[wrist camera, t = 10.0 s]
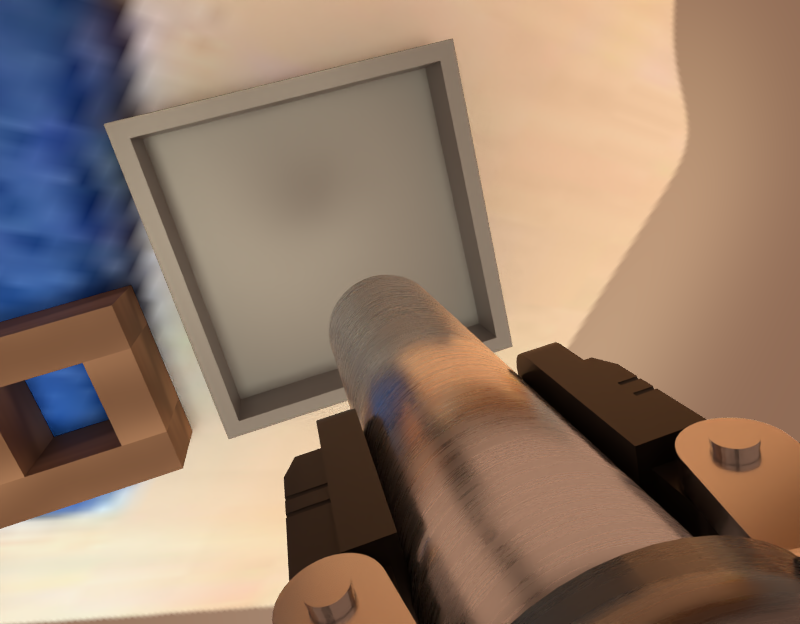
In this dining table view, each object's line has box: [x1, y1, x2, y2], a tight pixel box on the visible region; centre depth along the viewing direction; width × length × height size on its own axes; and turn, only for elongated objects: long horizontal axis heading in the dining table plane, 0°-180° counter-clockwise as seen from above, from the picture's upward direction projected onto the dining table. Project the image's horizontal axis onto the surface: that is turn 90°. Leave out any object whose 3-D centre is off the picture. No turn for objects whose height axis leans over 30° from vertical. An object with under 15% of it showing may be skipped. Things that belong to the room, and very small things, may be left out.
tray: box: [104, 39, 512, 439], centre depth 30 cm, size 16×16×4 cm
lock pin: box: [329, 275, 800, 624], centre depth 10 cm, size 4×4×13 cm
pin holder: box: [0, 285, 192, 529], centre depth 29 cm, size 9×9×4 cm
